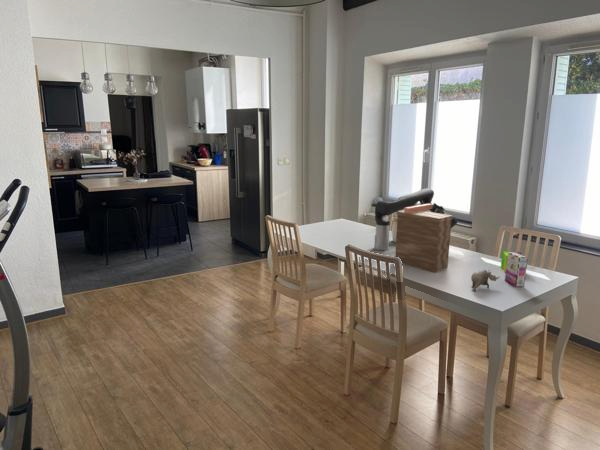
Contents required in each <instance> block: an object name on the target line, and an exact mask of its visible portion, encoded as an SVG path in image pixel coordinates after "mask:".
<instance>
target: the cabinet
mask: <svg viewBox="0 0 600 450" xmlns="http://www.w3.org/2000/svg"><path fill="white" fill-rule="evenodd" d="M396 215H397V235H396V242H395V255H394V258H395V257H399V258H400V259H401V261H402V263H403V264H402V265H405V266H409V267H411V268H412V267H413V268H417V269H420V270H423V271H428V272H432V273H437V272H441V271H443V270H446V269H448V265H449V256H450V255H449V253H450V242H451V233H452V232H451V231H452V230H451V229H452V228H451V221H452V219H453V217H454V215H451V214H449V215H446V214H440V213H434V212H430V211H428V210H424V211H418V212H413V213H404V210H402V211H401V210H400V211H397V212H396Z"/></svg>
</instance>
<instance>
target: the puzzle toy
mask: <svg viewBox="0 0 600 450" xmlns="http://www.w3.org/2000/svg"><path fill="white" fill-rule="evenodd" d="M508 252H509V251H502V254H501V262H500V263H501V264H500V268H501V269H502V271H503V270H504V271H503V272H504V273H506V267H507V258H508ZM517 253H519V254H521V255H523V256H525V255H524V254H522V253H521V252H518V251H517Z"/></svg>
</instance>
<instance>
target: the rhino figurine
mask: <svg viewBox="0 0 600 450" xmlns="http://www.w3.org/2000/svg"><path fill="white" fill-rule="evenodd" d="M500 277H501V276H497V277H496V275H493V274H492V271H491V270H490V269H483V270H478V271H475V272H474V273H472V275H471V282H472V284H471V288H472V292H477V290H476V289H477V288H478V287H480V286H486V288H487V289H490V288H489V287H490V284H489V280H490V281H493V282H497V280H499V278H500Z"/></svg>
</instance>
